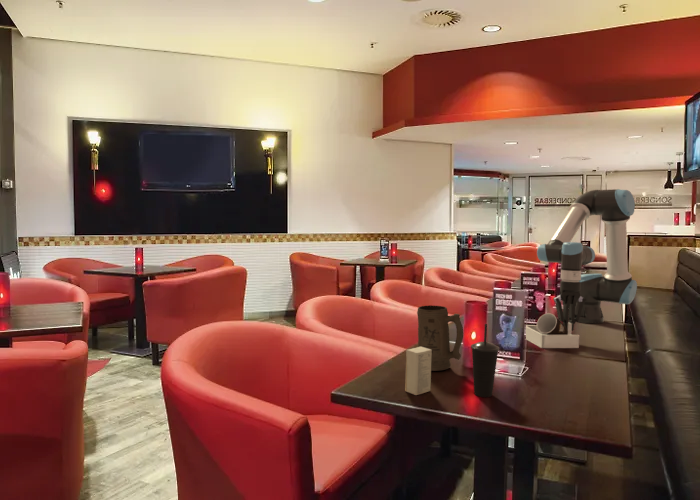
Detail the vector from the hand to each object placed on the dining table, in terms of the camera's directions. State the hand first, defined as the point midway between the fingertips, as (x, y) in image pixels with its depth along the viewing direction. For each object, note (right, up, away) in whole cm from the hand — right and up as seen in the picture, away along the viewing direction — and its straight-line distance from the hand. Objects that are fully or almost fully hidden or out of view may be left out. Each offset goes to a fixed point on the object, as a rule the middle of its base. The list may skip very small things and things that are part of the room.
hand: (567, 338), depth 209 cm
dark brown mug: (-4, +1, -2) cm, 5 cm away
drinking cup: (-51, -5, -64) cm, 81 cm away
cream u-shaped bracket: (-8, -1, -1) cm, 8 cm away
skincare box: (-69, -4, -62) cm, 93 cm away
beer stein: (-59, -3, -39) cm, 71 cm away
